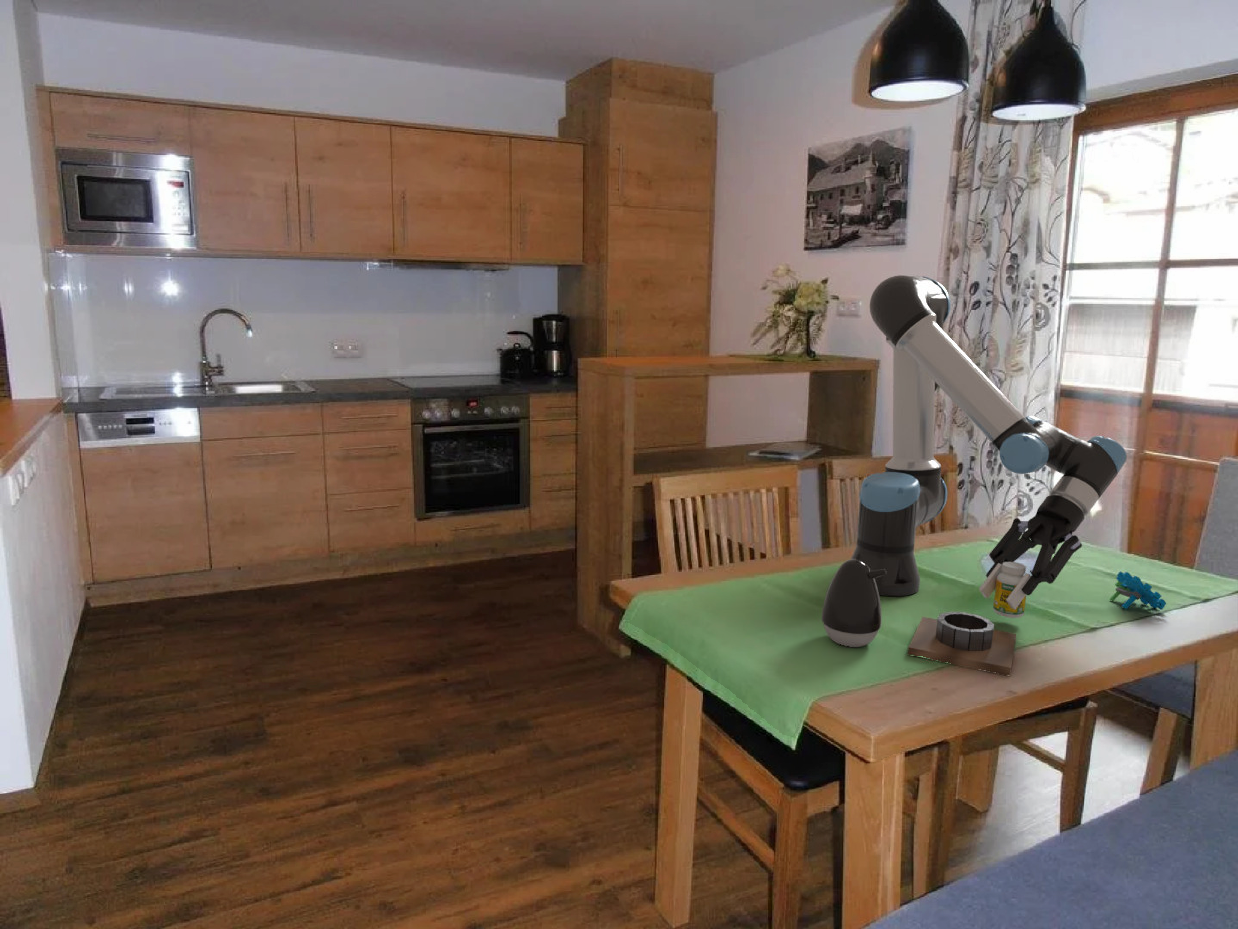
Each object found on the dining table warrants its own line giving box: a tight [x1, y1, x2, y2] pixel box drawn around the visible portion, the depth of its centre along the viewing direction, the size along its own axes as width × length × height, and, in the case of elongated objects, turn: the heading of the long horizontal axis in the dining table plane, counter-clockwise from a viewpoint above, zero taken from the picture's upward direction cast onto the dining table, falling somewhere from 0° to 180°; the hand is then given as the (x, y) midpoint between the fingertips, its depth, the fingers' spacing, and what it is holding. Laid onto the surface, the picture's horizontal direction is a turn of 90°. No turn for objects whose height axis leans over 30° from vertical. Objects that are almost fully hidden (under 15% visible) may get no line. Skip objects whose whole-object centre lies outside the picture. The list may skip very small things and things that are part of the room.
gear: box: [1109, 571, 1167, 611], centre depth 168 cm, size 11×6×10 cm
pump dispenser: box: [821, 558, 886, 648], centre depth 148 cm, size 10×10×15 cm
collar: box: [936, 611, 995, 651], centre depth 146 cm, size 9×9×4 cm
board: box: [907, 616, 1017, 676], centre depth 147 cm, size 16×16×2 cm
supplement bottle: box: [992, 561, 1027, 619], centre depth 158 cm, size 5×5×10 cm
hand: (996, 599), depth 156 cm, fingers closed on supplement bottle, 5 cm apart
